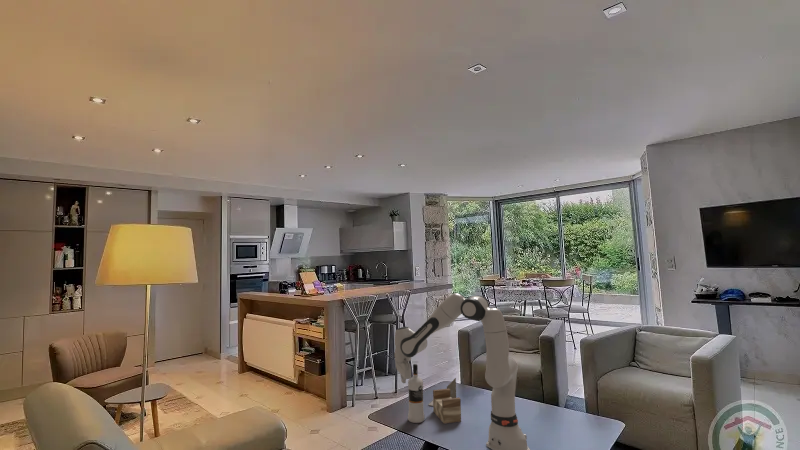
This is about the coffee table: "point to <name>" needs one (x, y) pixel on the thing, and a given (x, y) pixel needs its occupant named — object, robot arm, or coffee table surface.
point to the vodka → (415, 397)
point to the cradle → (446, 406)
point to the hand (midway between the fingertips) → (403, 382)
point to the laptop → (452, 390)
